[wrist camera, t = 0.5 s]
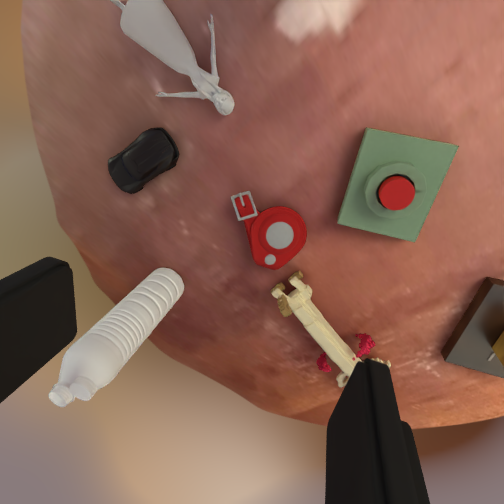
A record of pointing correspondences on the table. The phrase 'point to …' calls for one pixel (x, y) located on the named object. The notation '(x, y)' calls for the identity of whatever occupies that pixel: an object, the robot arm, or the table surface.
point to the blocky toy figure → (321, 329)
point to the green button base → (388, 165)
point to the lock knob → (499, 348)
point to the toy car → (143, 160)
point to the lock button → (396, 193)
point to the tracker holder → (270, 231)
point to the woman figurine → (173, 48)
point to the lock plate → (479, 331)
